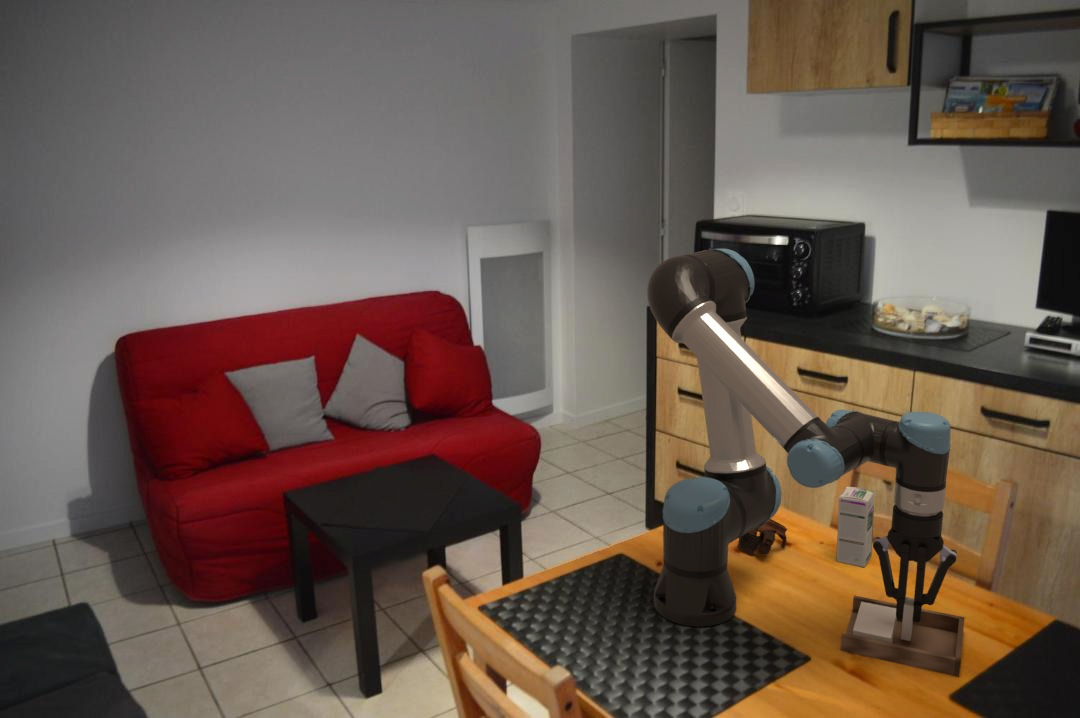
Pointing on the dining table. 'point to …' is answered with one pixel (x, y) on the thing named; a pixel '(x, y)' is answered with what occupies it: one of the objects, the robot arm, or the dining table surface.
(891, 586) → the robot arm
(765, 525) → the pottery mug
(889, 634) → the light grey block
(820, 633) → the dining table surface
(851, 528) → the syrup box
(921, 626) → the walnut box
